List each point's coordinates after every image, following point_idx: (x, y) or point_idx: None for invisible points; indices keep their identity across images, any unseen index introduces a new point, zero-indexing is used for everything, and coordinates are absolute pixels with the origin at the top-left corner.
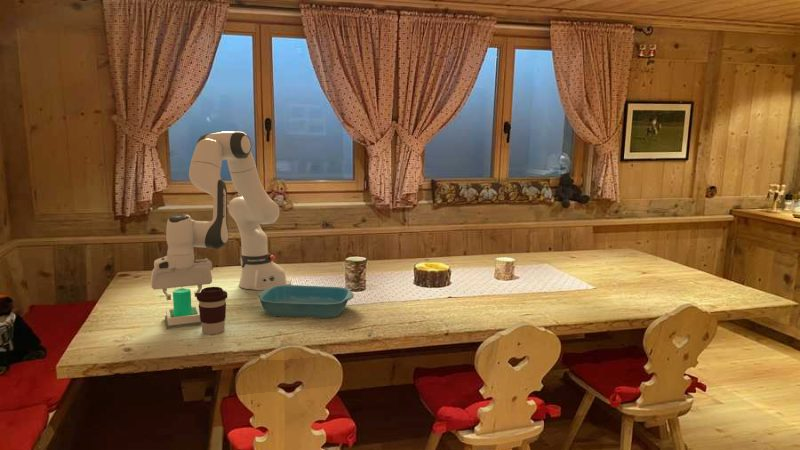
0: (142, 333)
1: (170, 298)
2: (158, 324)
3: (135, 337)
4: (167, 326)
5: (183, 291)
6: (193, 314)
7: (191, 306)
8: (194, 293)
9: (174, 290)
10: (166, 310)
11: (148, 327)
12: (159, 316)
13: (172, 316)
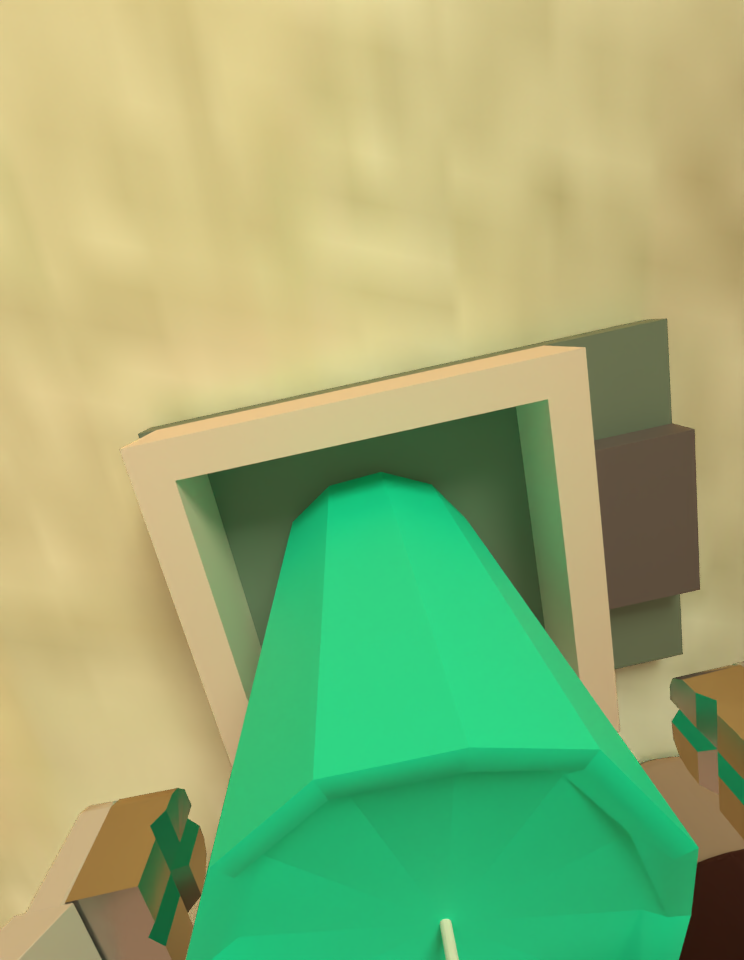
0: (53, 812)
1: (191, 898)
2: (131, 607)
3: (26, 886)
4: None
5: (491, 894)
6: (488, 432)
7: (490, 374)
8: (724, 757)
9: (213, 892)
10: (143, 512)
11: (53, 677)
12: (53, 325)
13: (240, 467)
